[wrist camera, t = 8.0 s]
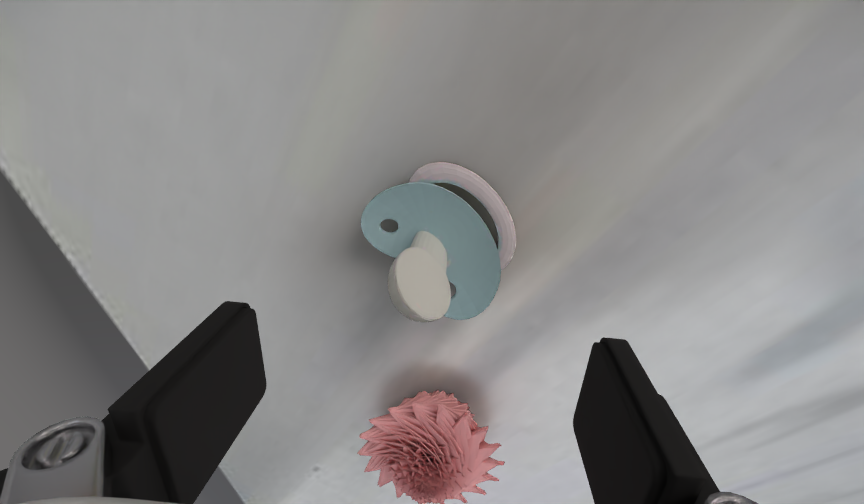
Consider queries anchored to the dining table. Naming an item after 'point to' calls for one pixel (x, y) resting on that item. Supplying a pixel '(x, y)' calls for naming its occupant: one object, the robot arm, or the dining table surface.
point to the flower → (430, 448)
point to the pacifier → (441, 243)
